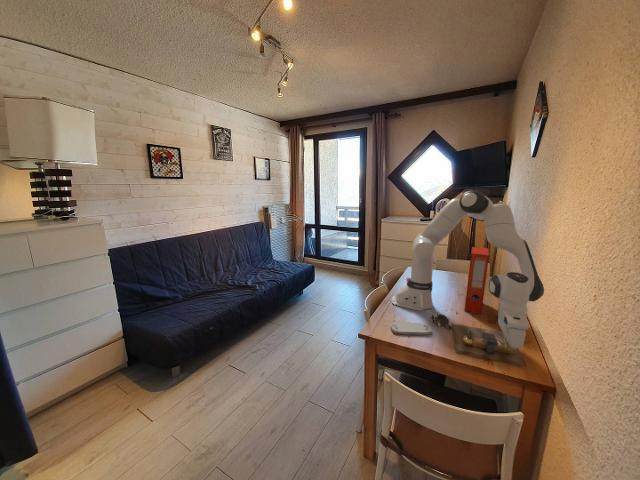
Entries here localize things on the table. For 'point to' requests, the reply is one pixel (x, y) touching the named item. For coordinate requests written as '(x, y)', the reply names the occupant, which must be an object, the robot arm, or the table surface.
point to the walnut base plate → (461, 348)
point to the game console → (411, 328)
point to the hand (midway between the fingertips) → (507, 345)
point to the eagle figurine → (441, 320)
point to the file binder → (476, 280)
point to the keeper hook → (490, 342)
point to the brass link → (480, 343)
